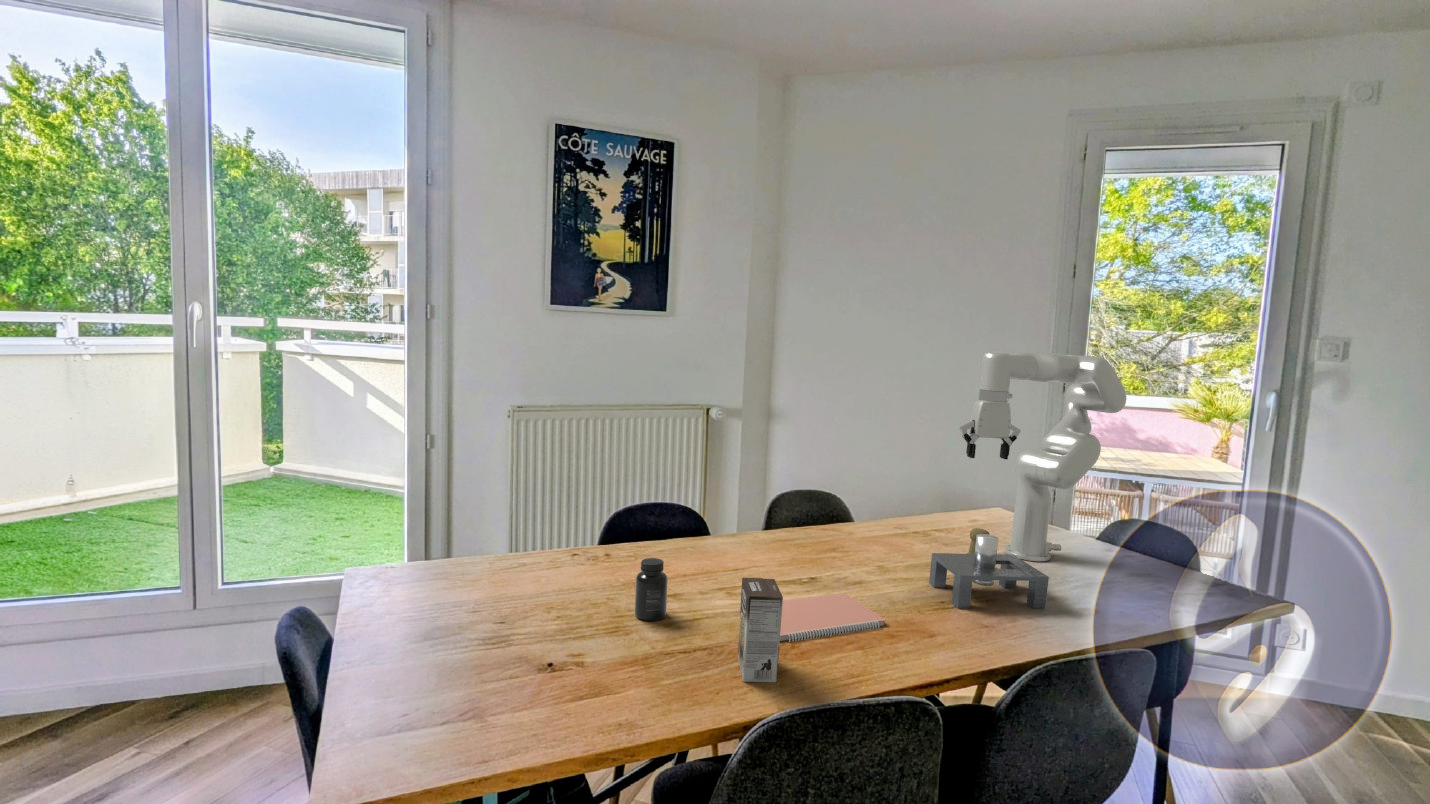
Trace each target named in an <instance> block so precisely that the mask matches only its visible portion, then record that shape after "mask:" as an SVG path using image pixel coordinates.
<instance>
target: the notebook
mask: <svg viewBox="0 0 1430 804" xmlns="http://www.w3.org/2000/svg"><path fill="white" fill-rule="evenodd" d="M885 622H887V621H886V619H885V618H883V617H882V616H880V615H879V614H877V613H875V612H874V611H872V610H871V609H869V608H868V607H866V606H865V605H863V604H862V603H861V602H859V601H858V600H856V599H854V598H853V597H851V596H849V595H848V594H846V593H844V592H843V593H835V594H828V595H821V596H812V597H804V598H796V599H795V598H794V599H787V600H783V604H782V618H781V631H780V642H782V641H783V642H784V641H788V643H791V642H792V643H793V642H797V640H798V641H799V642H800V641H803V640H804V641H807V640H809V639H810V640H812V639H813V640H814V639H817V638H818V639H820V638H823V637H825V638H826V637H829V636H830V637H832V635H833V636H835V635H836V636H838V635H839V636H841V635H844V634H849V633H850V634H851V633H855V632H856V633H857V632H864V631H869V630H870V631H871V630H878V629H880V627H882V626H884V625H885ZM841 632H842V633H841ZM803 638H804V639H803ZM806 639H807V640H806ZM791 640H792V641H791Z"/></svg>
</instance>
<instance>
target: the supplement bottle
mask: <svg viewBox="0 0 1430 804" xmlns="http://www.w3.org/2000/svg"><path fill="white" fill-rule="evenodd" d="M664 563H665V562H664V559H663V560H662V559H661V558H657V557H656V558H655V557H647V558H644V559H641V562H640V571H639V572H638V574H637V575H636V577H635V588H634V590H635V594H634V615H635V617H636V618H637V619H639V620H641V621H646V622H656V621H659V620H662V619H664V618H665V617H666V615H667V607H668V605H667V604H668V601H667V600H668V576H667V574H666V572H664V566H665V565H664Z"/></svg>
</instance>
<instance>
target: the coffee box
mask: <svg viewBox="0 0 1430 804" xmlns="http://www.w3.org/2000/svg"><path fill="white" fill-rule="evenodd" d="M783 601H784V597H783V595H782V592H781V590H780V588H779V586H778V583H777V581H776V579H775V578H764V577H763V578H762V577H742V578H741V595H740V609H739V610H740V611H739V627H738V629H739V630H738V646H737V647H738V648H737V662H738V665H739V670H740V674H741V678H742V682H744V683H745V682H746V683H776V682H777V679H778V668H779V667H778V666H779V665H778V664H779V653H780V642H781V641H780V631H781V618H782V604H783Z"/></svg>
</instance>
